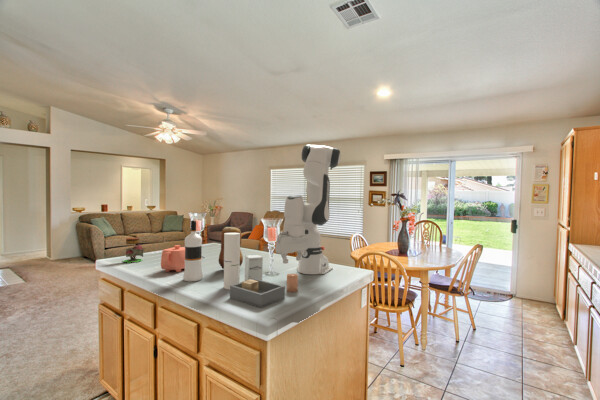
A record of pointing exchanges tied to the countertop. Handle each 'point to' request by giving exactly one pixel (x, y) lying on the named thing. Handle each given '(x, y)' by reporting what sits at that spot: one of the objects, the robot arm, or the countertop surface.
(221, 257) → the butternut squash
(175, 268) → the teapot
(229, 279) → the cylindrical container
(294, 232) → the robot arm
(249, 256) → the supplement box
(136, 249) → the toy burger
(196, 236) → the vodka
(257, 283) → the oak cube
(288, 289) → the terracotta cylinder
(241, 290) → the tote
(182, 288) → the countertop surface
